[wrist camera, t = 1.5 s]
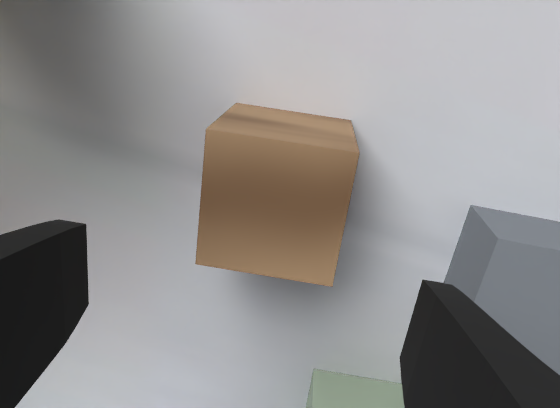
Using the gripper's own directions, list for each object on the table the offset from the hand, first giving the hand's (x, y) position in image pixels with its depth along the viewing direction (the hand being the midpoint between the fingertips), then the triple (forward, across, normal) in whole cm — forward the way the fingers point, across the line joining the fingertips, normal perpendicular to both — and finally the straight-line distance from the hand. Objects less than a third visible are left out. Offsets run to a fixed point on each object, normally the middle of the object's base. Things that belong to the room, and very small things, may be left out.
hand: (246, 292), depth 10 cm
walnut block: (+10, 0, 0) cm, 10 cm away
